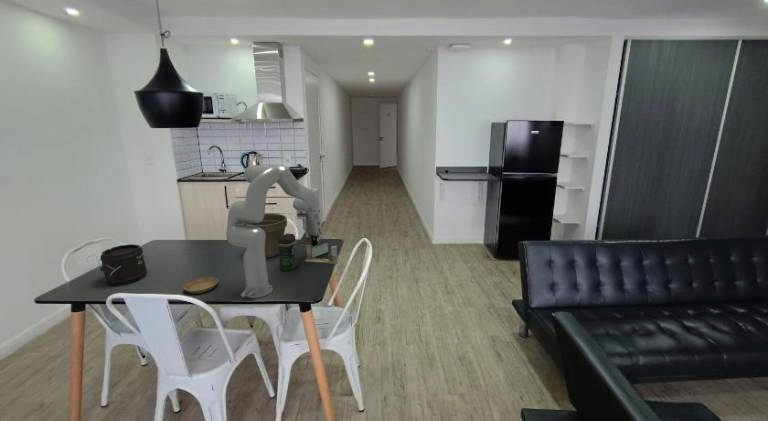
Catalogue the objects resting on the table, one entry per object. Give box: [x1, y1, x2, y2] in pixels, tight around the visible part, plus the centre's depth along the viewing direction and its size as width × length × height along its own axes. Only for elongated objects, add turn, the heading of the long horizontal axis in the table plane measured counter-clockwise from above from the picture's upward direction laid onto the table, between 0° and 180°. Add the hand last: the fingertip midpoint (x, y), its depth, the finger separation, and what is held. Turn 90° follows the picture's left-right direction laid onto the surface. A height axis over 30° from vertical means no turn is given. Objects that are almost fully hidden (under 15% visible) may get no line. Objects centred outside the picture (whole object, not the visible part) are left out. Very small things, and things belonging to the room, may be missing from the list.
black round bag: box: [99, 243, 148, 287], centre depth 174 cm, size 18×18×16 cm
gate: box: [311, 242, 329, 258], centre depth 201 cm, size 12×2×6 cm, turn 140°
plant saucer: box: [183, 276, 219, 294], centre depth 165 cm, size 15×15×3 cm
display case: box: [296, 187, 323, 248], centre depth 219 cm, size 11×11×35 cm
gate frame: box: [304, 244, 340, 265], centre depth 193 cm, size 4×19×9 cm, turn 75°
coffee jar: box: [278, 233, 298, 272], centre depth 184 cm, size 10×8×19 cm
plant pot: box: [244, 213, 288, 258], centre depth 205 cm, size 25×25×22 cm
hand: (314, 245), depth 204 cm, fingers closed
